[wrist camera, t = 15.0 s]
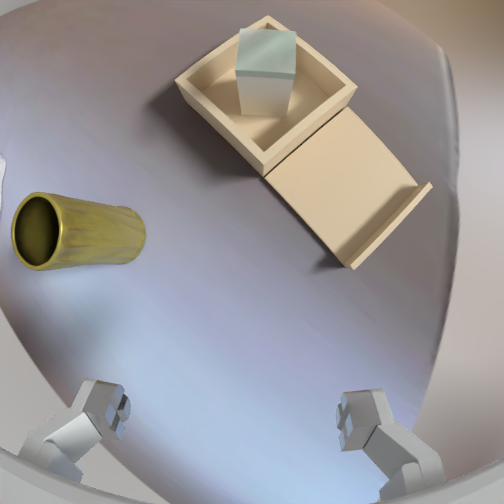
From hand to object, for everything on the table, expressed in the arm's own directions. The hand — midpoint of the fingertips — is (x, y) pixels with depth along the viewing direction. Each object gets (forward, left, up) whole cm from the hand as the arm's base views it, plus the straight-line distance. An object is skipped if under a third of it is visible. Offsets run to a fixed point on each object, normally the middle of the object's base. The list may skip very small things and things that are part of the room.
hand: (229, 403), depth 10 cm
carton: (-14, +15, -20) cm, 29 cm away
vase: (-14, -6, -21) cm, 26 cm away
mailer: (-8, +15, -20) cm, 27 cm away
